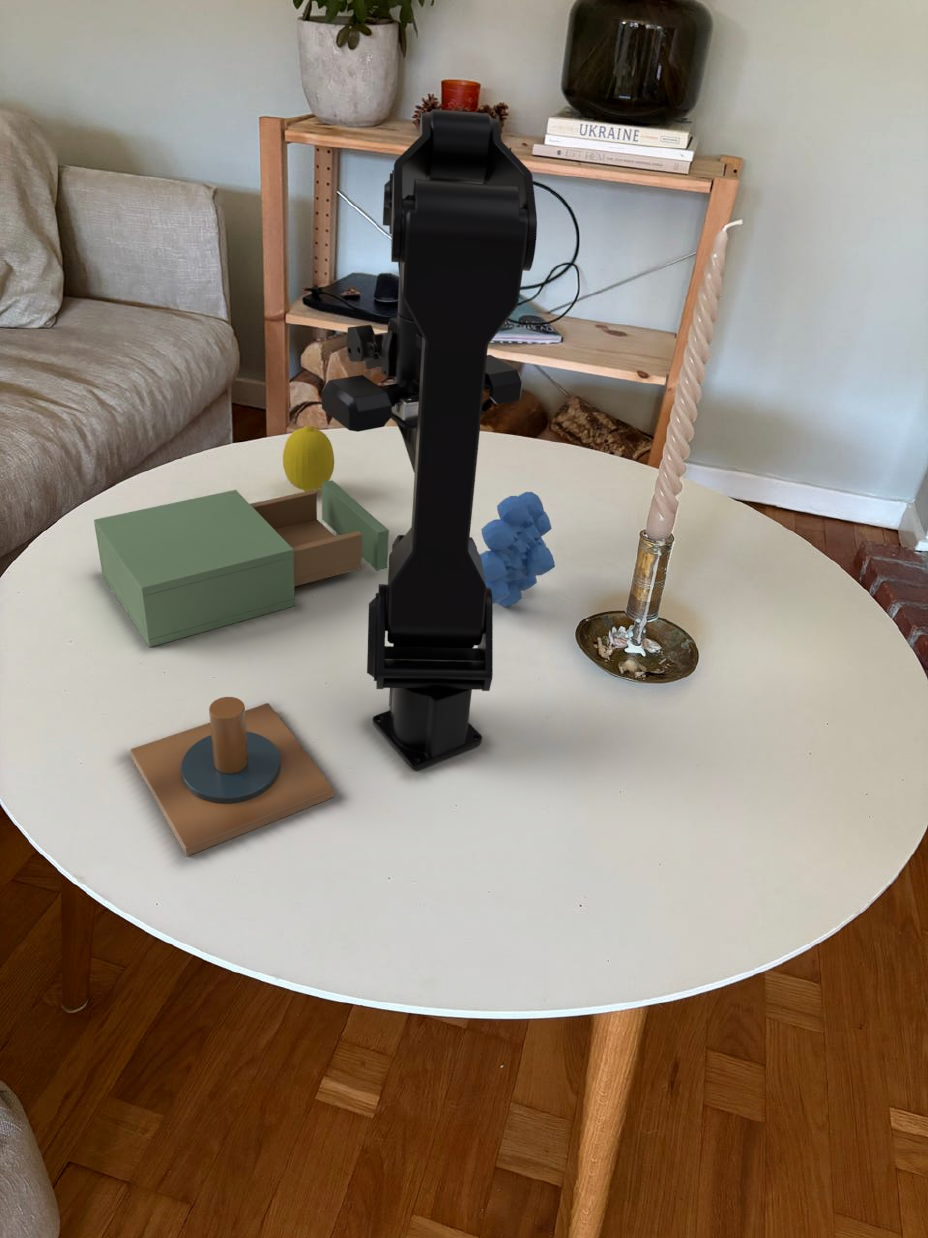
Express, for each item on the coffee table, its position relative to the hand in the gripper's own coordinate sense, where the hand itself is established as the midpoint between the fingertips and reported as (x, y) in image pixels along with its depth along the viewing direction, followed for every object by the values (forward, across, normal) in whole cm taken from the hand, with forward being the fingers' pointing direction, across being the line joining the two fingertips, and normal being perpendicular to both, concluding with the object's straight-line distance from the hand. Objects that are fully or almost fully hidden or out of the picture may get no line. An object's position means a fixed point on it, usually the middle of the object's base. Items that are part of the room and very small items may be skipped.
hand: (420, 474), depth 93 cm
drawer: (+8, +11, -3) cm, 14 cm away
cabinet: (+9, +22, -3) cm, 24 cm away
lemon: (+9, +4, -16) cm, 19 cm away
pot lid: (+8, +29, +21) cm, 36 cm away
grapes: (+9, -3, +13) cm, 16 cm away
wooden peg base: (+9, +29, +21) cm, 37 cm away
